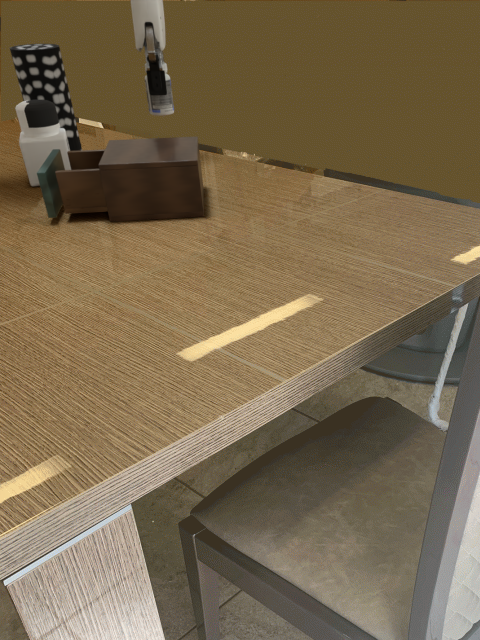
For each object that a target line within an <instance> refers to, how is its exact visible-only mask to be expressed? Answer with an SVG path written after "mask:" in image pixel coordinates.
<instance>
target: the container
mask: <svg viewBox="0 0 480 640" xmlns="http://www.w3.org/2000/svg"><path fill="white" fill-rule="evenodd" d="M14 110H15V111H16V112H15V113H16V116H17V120H18V124H19V127H20V133H19V139H18V145H19V148H20V152H21V155H22V159H23V163H24V167H25V170H26V173H27V177H28V180H29V184H30V186H31V187H40V184H39V180H38V176H37V172H38V170H39V169H40V167H41V166H42V165H43V163H44V162H45V160H46V159H47V157H48V156H49V154H50V153H51V151H52V150H53V149H60V151H61V155H62V159H63V164H64V168H65V170H71V167H70V162H69V158H68V154H67V152H68V151H70V148H69V144H68V139H67V135H66V131H65V129H64V128H60V124H59V119H58V115H57V111H56V106H55V104H54V103H53V102H50V101H48V100H28V101H23V100H22V101H21V102H19V103H18V104H16V106H15V108H14Z"/></svg>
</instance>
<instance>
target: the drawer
mask: <svg viewBox="0 0 480 640" xmlns="http://www.w3.org/2000/svg"><path fill="white" fill-rule="evenodd" d="M105 149H106V148H105ZM105 149H104V148H103V149H86V150H85V149H84V150H83V149H82V150H81V151H68V152H67V154H68V158H69V162H70V167H71V170H65V168H64V164H63V159H62V155H61V151H60V149H53V150H52V151H51V153H50V154H49V156H48V157H47V159H46V160H45V162H44V163H43V165H42V166H41V167H40V169H39V170H38V172H37V176H38V180H39V184H40V186H39V187H40V191H41V195H42V198H43V203H44V207H45V210H46V213H47V217H48V219H56V218H57V217H58V215H59V214H60V211H61V210H62V207H63V210H64V214H66V215H70V214H85V213H86V214H88V213H104V212H105V213H106V212H107V213H108V209H107V204H106V199H105V195H104V190H103V185H102V180H101V175H100V170H99V166H98V165H99V163H100V160H101V158H102V156H103V153H104V151H105Z"/></svg>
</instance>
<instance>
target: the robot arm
mask: <svg viewBox="0 0 480 640" xmlns="http://www.w3.org/2000/svg"><path fill="white" fill-rule="evenodd" d="M130 7H131V17H132V25H133V33H134V42H135V43H134V44H135V49H136V51H137V52H138V53H139V52H140V53H141V52H142V50H143V48H144V56H145V64H146V65H147V70H146V71H145V74H146V75H147V80H148V88H149V94H150V95H166V94H167V88H166V79H165V71H164V70H163V66H162V62H164V63H165V57H164V50H165V48H166V46H167V45H166V21H165V9H164V1H163V0H130ZM166 73H167V74H168V72H166Z"/></svg>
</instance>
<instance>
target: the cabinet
mask: <svg viewBox="0 0 480 640" xmlns="http://www.w3.org/2000/svg"><path fill="white" fill-rule="evenodd" d="M199 145H200V144H199V137H198V136H179V137H155V138H154V137H153V138H132V139H131V138H130V139H109V140H108V142H107V144H106V146H105V151H104V153H103V156H102V158H101V160H100V163H99V165H98V166H99V170H100V175H101V180H102V185H103V190H104V195H105V199H106V204H107V209H108V211H107V213H108V219H109V222H112V223H115V222H131V221H148V220H150V221H151V220H167V219H183V218H186V219H187V218H200V217H201V218H203V217H205V204H204V203H205V197H204V196H205V195H204V192H205V191H204V181H203V170H202V162H201V161H202V160H201V154H200V146H199Z"/></svg>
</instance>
